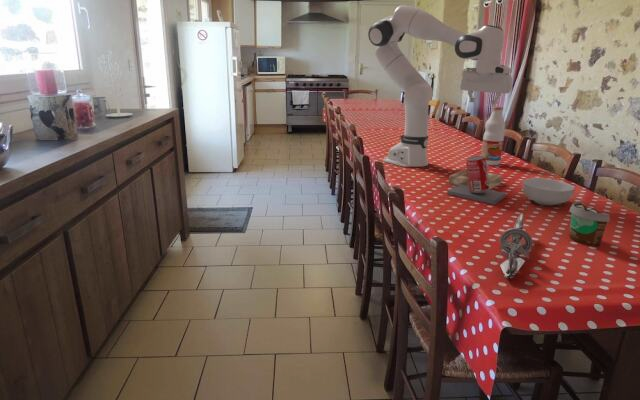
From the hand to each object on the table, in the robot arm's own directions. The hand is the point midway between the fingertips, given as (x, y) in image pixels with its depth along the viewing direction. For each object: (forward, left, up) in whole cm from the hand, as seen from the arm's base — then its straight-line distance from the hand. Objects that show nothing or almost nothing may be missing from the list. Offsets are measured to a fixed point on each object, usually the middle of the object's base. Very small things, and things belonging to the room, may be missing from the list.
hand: (482, 103), depth 178 cm
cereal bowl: (+33, -13, -33) cm, 48 cm away
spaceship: (+39, -67, -33) cm, 84 cm away
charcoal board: (+11, -23, -33) cm, 41 cm away
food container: (+50, -44, -33) cm, 74 cm away
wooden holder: (+4, -7, -33) cm, 33 cm away
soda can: (+12, -24, -30) cm, 40 cm away
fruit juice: (-5, +34, -33) cm, 47 cm away
